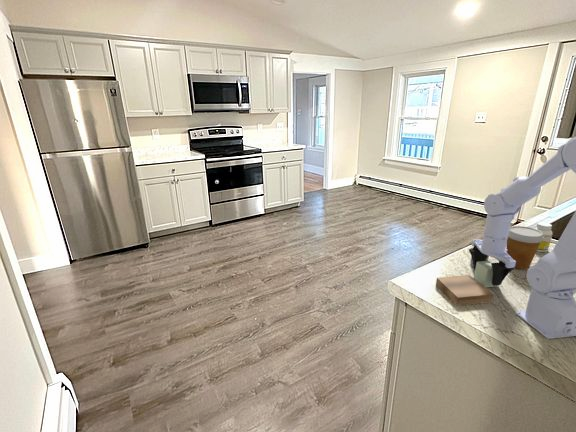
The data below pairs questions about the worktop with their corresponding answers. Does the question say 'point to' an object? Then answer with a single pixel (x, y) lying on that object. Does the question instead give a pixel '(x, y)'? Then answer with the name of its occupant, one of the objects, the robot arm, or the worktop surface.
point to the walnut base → (464, 290)
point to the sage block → (484, 273)
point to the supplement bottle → (547, 235)
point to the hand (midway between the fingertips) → (486, 277)
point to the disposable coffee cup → (523, 245)
